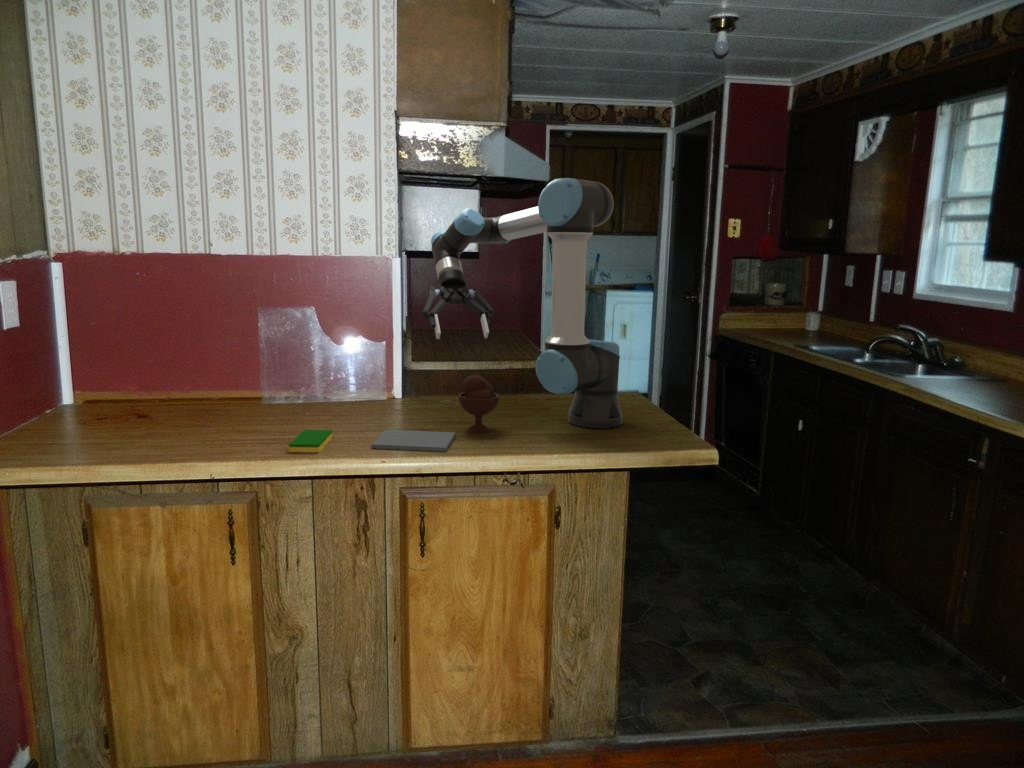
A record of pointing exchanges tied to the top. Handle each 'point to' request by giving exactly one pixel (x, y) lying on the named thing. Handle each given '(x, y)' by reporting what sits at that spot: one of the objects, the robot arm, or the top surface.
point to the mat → (414, 440)
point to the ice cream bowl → (478, 400)
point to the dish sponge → (310, 441)
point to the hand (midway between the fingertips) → (463, 335)
